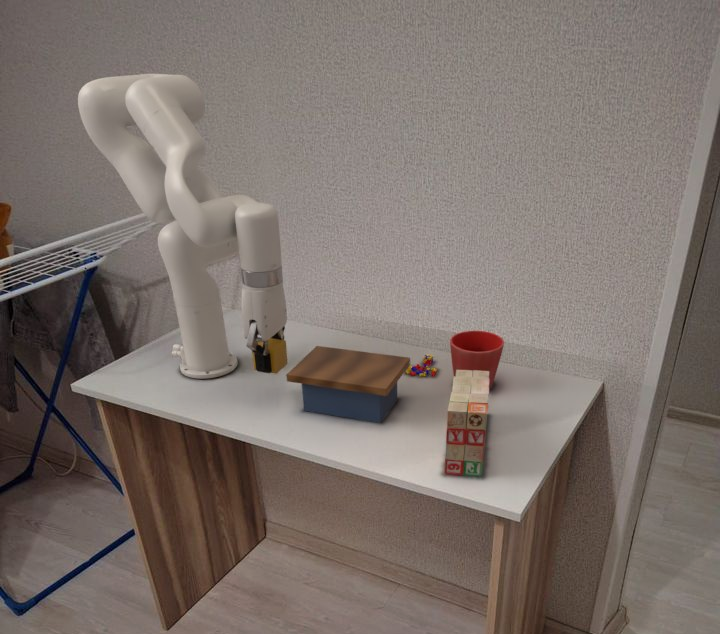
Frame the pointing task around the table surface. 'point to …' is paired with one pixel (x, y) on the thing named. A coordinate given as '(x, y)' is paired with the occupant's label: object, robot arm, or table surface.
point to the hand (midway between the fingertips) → (270, 364)
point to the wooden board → (349, 370)
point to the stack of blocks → (467, 423)
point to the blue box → (348, 402)
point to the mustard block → (275, 354)
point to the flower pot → (476, 352)
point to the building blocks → (427, 361)
